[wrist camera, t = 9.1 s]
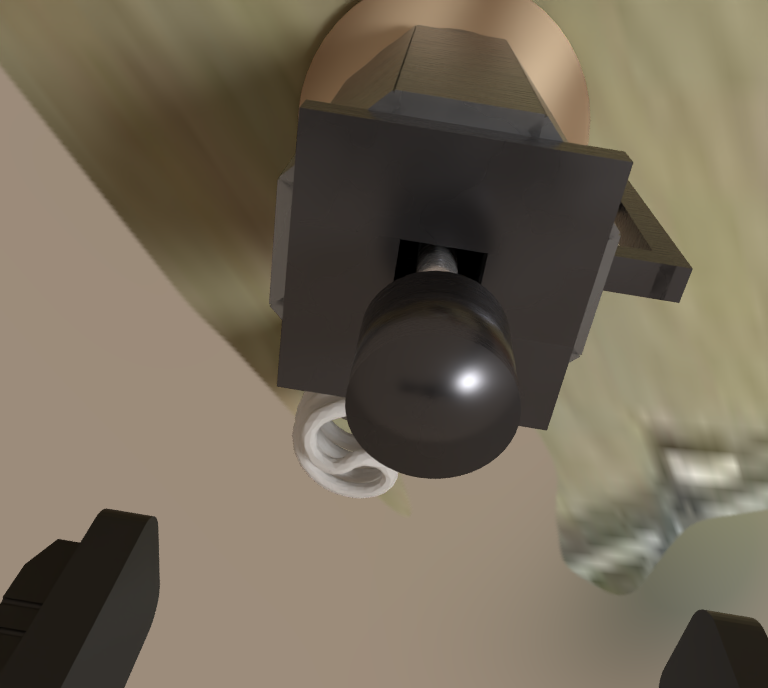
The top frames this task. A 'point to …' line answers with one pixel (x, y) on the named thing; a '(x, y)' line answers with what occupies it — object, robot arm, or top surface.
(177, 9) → the top surface
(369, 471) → the light bulb
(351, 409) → the plunger
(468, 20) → the disc
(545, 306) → the carafe
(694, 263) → the top surface
